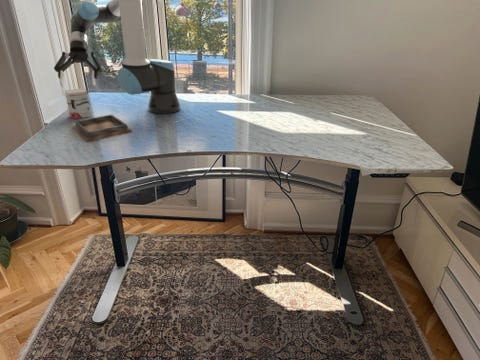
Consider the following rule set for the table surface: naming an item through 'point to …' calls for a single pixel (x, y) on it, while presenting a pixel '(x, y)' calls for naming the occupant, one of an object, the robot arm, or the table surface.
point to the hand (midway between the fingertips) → (77, 84)
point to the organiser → (100, 127)
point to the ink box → (78, 103)
